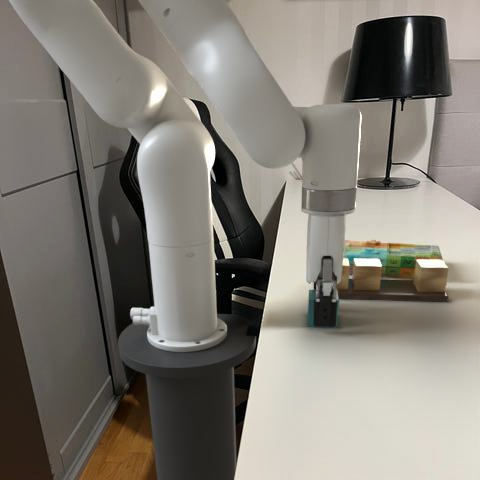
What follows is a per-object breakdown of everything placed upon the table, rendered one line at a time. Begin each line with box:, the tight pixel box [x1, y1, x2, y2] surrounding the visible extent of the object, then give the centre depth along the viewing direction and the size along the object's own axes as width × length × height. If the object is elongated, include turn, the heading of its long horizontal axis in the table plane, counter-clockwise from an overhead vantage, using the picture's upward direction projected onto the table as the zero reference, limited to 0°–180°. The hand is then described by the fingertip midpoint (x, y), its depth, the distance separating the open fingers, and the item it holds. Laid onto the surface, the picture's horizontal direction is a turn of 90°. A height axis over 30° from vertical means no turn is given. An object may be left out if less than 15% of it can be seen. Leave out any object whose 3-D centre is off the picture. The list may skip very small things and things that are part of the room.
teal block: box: [307, 289, 340, 329], centre depth 77 cm, size 4×4×4 cm
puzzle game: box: [343, 239, 444, 279], centre depth 99 cm, size 12×5×20 cm
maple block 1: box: [336, 258, 350, 290], centre depth 89 cm, size 4×4×4 cm
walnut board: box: [336, 278, 449, 303], centre depth 89 cm, size 22×8×1 cm, turn 82°
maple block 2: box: [351, 259, 382, 291], centre depth 88 cm, size 4×4×4 cm
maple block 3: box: [413, 259, 449, 292], centre depth 86 cm, size 4×4×4 cm
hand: (323, 313), depth 77 cm, fingers open, 9 cm apart
